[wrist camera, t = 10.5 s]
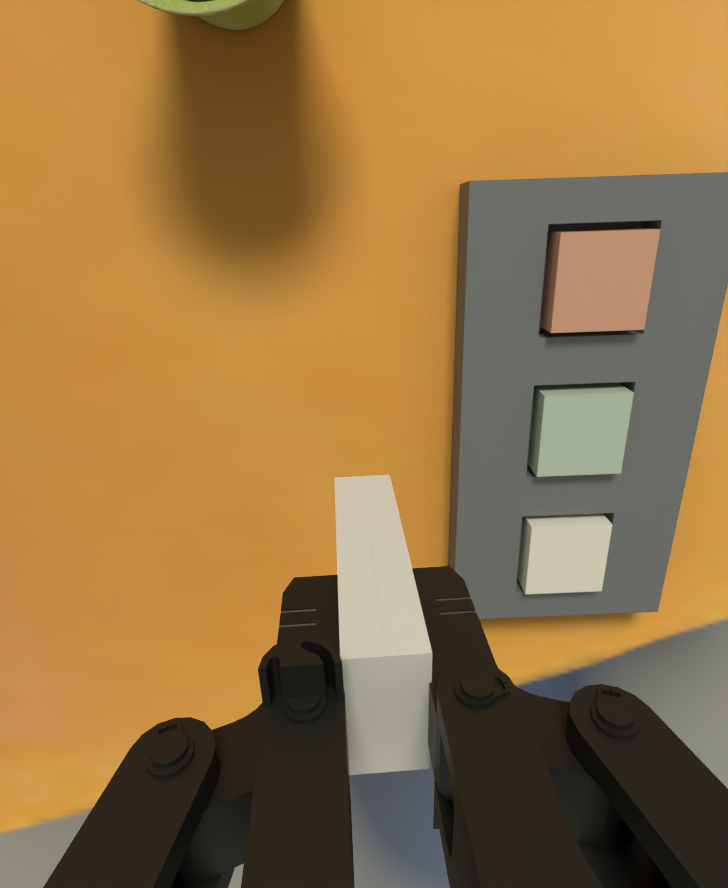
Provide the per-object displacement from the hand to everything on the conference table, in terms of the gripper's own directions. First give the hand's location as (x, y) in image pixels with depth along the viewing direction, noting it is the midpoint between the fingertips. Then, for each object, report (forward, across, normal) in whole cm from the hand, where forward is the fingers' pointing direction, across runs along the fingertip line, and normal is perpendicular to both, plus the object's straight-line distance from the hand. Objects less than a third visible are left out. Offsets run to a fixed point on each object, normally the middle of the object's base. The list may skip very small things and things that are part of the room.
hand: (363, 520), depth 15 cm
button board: (+18, +14, -4) cm, 23 cm away
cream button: (+17, +14, -13) cm, 25 cm away
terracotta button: (+17, +14, +4) cm, 22 cm away
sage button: (+17, +14, -4) cm, 22 cm away
